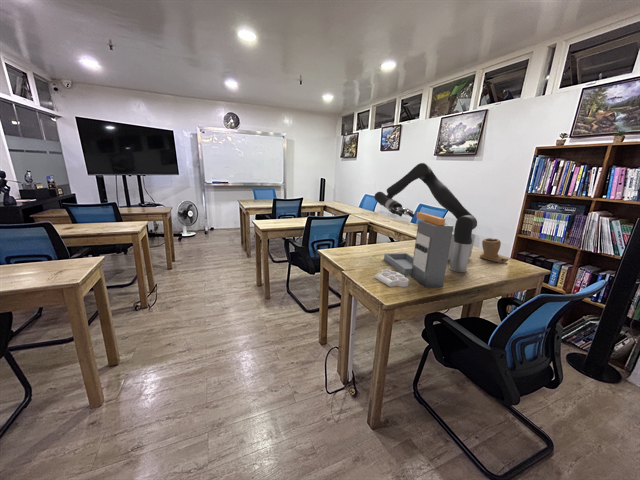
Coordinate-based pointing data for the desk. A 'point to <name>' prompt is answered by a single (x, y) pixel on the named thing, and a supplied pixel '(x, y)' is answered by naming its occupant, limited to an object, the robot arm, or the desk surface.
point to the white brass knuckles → (392, 278)
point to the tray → (400, 262)
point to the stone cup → (492, 250)
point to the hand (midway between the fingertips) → (407, 215)
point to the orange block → (430, 218)
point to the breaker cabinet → (431, 253)
